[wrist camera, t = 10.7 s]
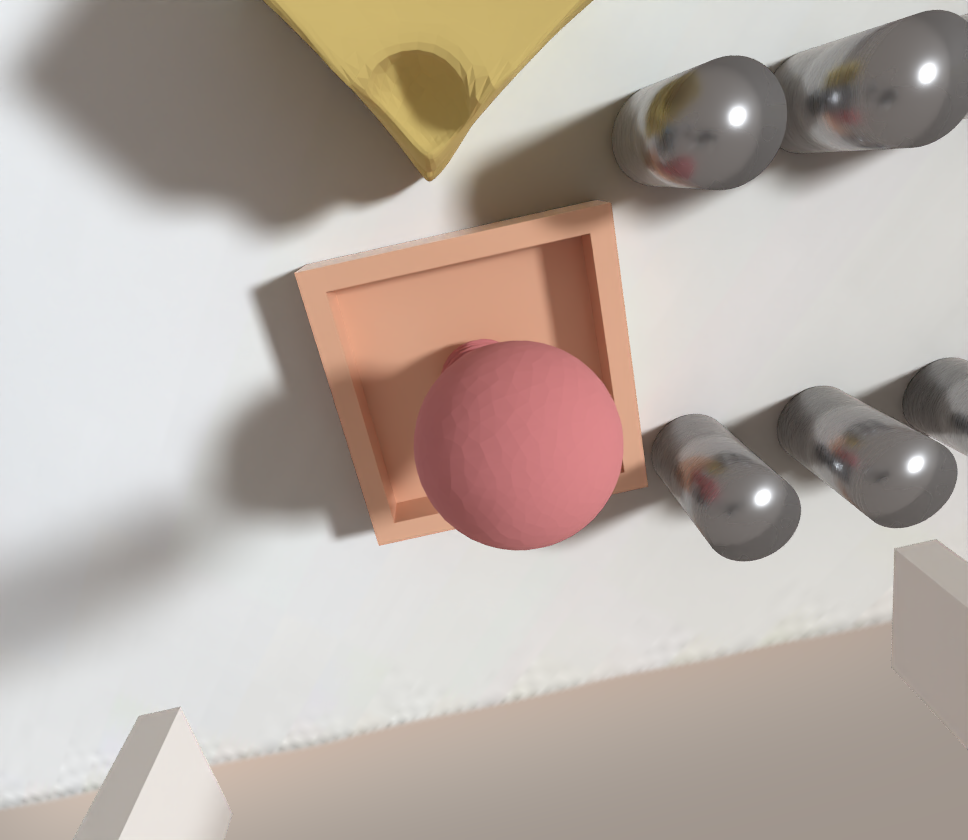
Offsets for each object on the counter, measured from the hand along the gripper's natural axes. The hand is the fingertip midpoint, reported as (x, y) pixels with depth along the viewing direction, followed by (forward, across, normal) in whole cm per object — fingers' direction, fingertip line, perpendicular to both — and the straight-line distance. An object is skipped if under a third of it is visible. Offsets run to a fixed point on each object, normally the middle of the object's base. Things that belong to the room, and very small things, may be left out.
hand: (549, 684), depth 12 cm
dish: (+20, 0, 0) cm, 20 cm away
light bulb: (+20, 0, 0) cm, 20 cm away
